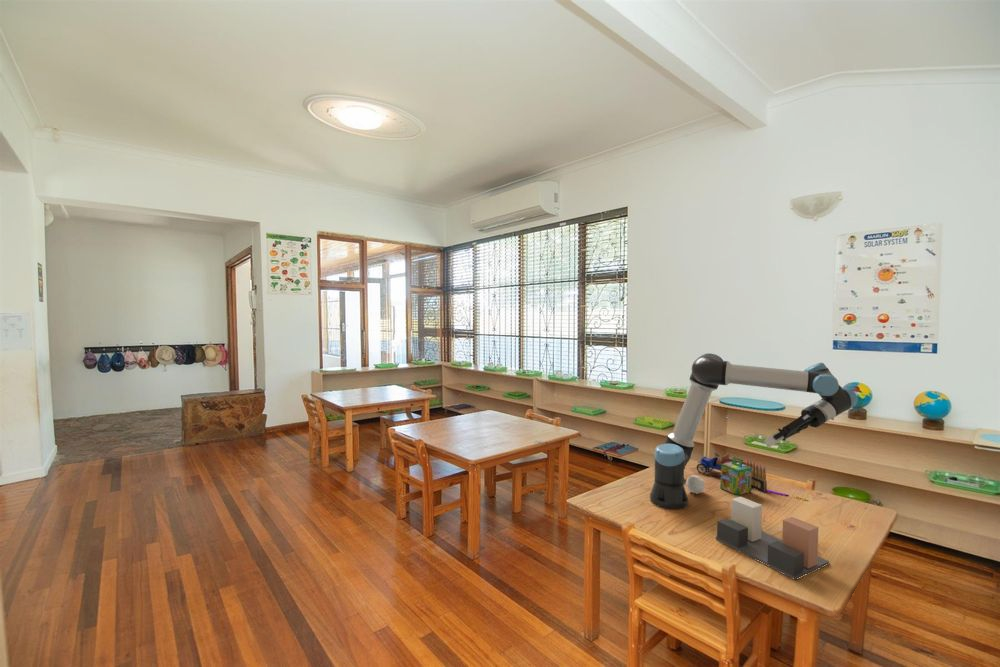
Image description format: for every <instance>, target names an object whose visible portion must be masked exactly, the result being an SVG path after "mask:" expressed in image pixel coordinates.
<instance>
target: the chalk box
mask: <svg viewBox="0 0 1000 667" xmlns="http://www.w3.org/2000/svg"><path fill="white" fill-rule="evenodd" d="M732 460H733V461H732V462H730V463H724V464H721V471H720V472H721V474H720V484H719V485H720V489H722V490H724V491H726V492H728V493H730V494H733V495H735V494H736V495H735V496H737V495H738V496H741V495H745V493H746V494H749V493H751V492H752V487H751V480H752V468H751V467H749V466H746V465H744V464H742V463H743V462H744V460H743V459H742V458H739V457H736V456H733V457H732ZM735 461H739V462H740V463H738V462H735Z"/></svg>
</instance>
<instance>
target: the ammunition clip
mask: <svg viewBox="0 0 1000 667" xmlns="http://www.w3.org/2000/svg"><path fill="white" fill-rule="evenodd" d="M745 463H746V466H749V467H751V468H752V480H751V489H754V488H755V489H754V490H756V489H757V491H759V492H761V493H763V494H765V493H768V492H767V489H768V488H767V487H768V486H767V485H768V484H767V475H766V474H767V473H766V466H765V465H763V466H762V464H761V463H760V465H759V463H758V462H755V461H752V460H749V459H748V458H747V459H746V461H745ZM752 464H753V465H752Z"/></svg>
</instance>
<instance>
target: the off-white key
mask: <svg viewBox="0 0 1000 667" xmlns="http://www.w3.org/2000/svg"><path fill="white" fill-rule="evenodd" d="M730 512H731V514H730V516H731V517H730V520H733V521H735V522H737V523H739V524H741V525H744V526H746V527H748V540H749V541H752V542H753V541H756V540H758V539H761V531H762V526H763V525H762V522H763V521H762V520H763V519H762V518H763V504H761V503H758V502H755V501H754V500H752V499H751V500H750V499H748V498H745V497H743V496H737V497H735V498H732V499H731V510H730Z"/></svg>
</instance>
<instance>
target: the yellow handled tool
mask: <svg viewBox="0 0 1000 667" xmlns="http://www.w3.org/2000/svg"><path fill="white" fill-rule="evenodd" d="M766 493H769V494H774V495H780V496H783V495H784V497H788V496H789V497H790V494H787V493H784V492H783V493H782V492H778V491H774V490H771V489H768V488H767V492H766ZM795 497H796V498H800V499H799V500H801V499H805V500H806V501H807V498H804V497H801V496H795ZM796 498H795V499H796ZM805 500H804V501H805Z"/></svg>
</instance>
